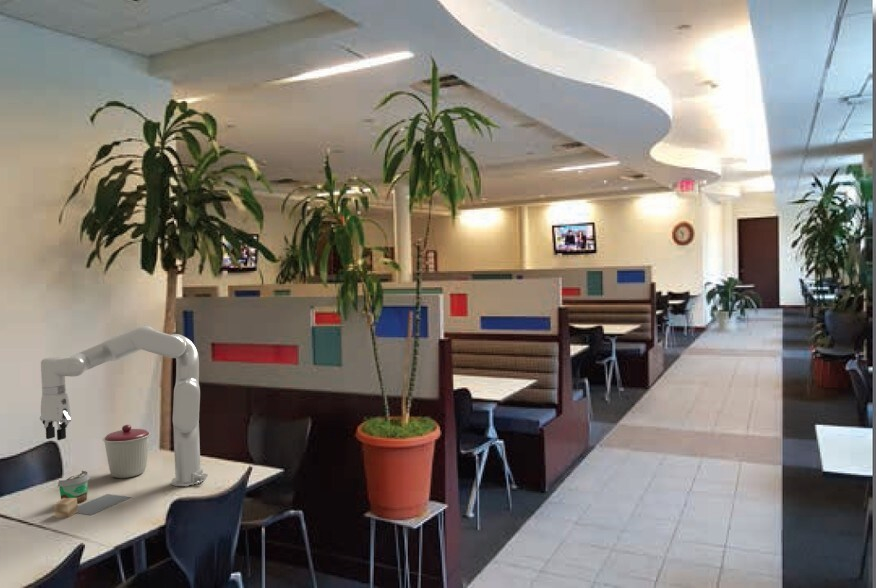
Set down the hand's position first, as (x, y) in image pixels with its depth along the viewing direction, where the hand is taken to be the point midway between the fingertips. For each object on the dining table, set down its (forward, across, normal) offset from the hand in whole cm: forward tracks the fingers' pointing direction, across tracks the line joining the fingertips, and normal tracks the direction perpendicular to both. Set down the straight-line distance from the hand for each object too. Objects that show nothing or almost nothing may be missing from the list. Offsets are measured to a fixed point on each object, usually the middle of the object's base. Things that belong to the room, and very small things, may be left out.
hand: (56, 438), depth 236 cm
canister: (+24, -2, -31) cm, 39 cm away
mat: (+23, -20, 0) cm, 31 cm away
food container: (+24, -10, 0) cm, 26 cm away
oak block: (+23, -17, +11) cm, 31 cm away
